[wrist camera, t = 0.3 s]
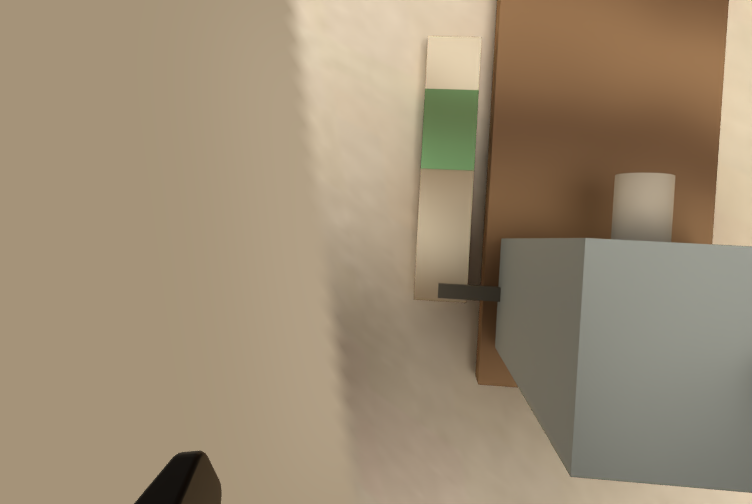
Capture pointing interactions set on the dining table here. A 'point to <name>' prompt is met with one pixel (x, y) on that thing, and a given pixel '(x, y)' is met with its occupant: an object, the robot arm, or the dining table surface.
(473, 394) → the dining table surface
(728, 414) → the gauge carriage
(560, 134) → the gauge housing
